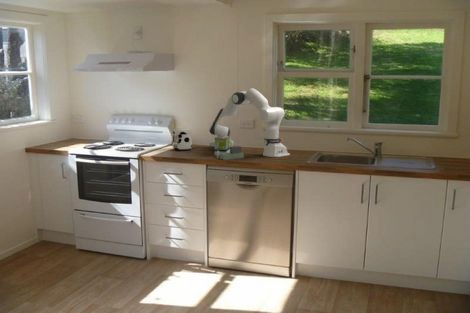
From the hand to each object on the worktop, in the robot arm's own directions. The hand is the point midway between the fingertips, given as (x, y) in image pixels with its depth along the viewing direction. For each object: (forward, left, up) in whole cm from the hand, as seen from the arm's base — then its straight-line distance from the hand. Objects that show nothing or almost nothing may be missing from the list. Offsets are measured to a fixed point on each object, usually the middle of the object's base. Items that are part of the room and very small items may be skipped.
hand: (221, 144), depth 384 cm
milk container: (+24, -28, -7) cm, 38 cm away
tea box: (+4, +9, -7) cm, 12 cm away
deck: (+7, +27, -6) cm, 29 cm away
